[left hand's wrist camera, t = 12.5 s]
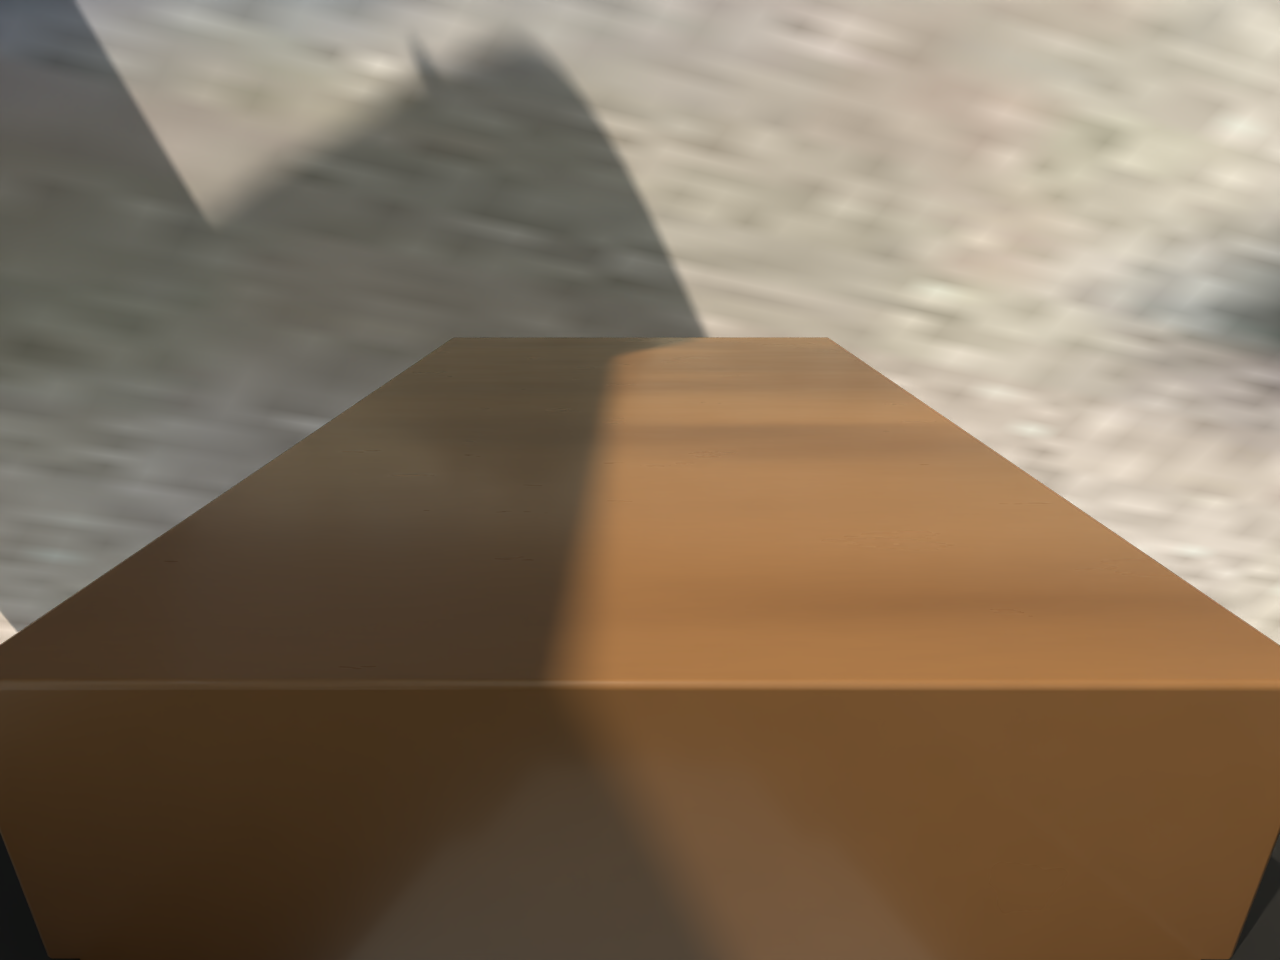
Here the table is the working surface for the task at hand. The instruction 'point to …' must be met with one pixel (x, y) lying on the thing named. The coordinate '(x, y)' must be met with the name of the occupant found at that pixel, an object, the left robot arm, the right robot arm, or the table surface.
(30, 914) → the left robot arm
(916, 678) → the box
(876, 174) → the table surface
